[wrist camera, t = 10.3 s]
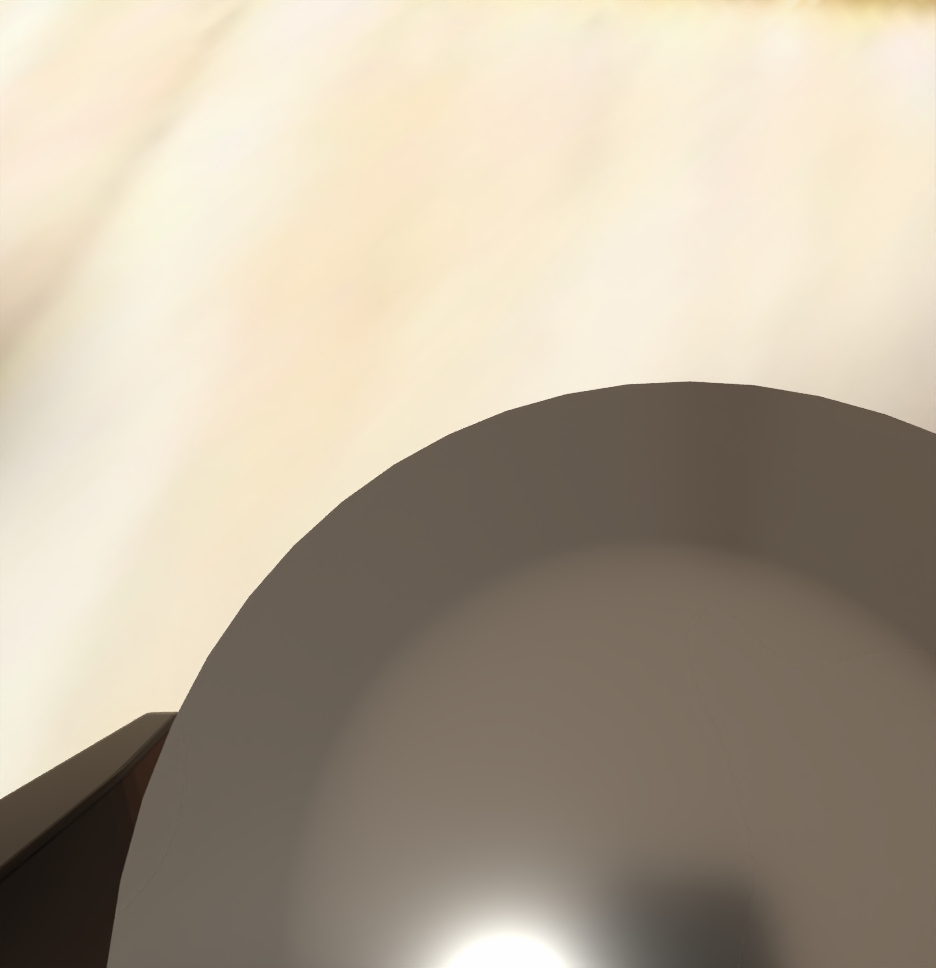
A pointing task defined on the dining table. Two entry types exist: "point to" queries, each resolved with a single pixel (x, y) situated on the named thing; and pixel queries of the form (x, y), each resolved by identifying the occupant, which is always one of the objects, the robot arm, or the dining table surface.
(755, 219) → the dining table surface
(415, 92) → the dining table surface
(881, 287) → the dining table surface
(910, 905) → the peg
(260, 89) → the dining table surface
